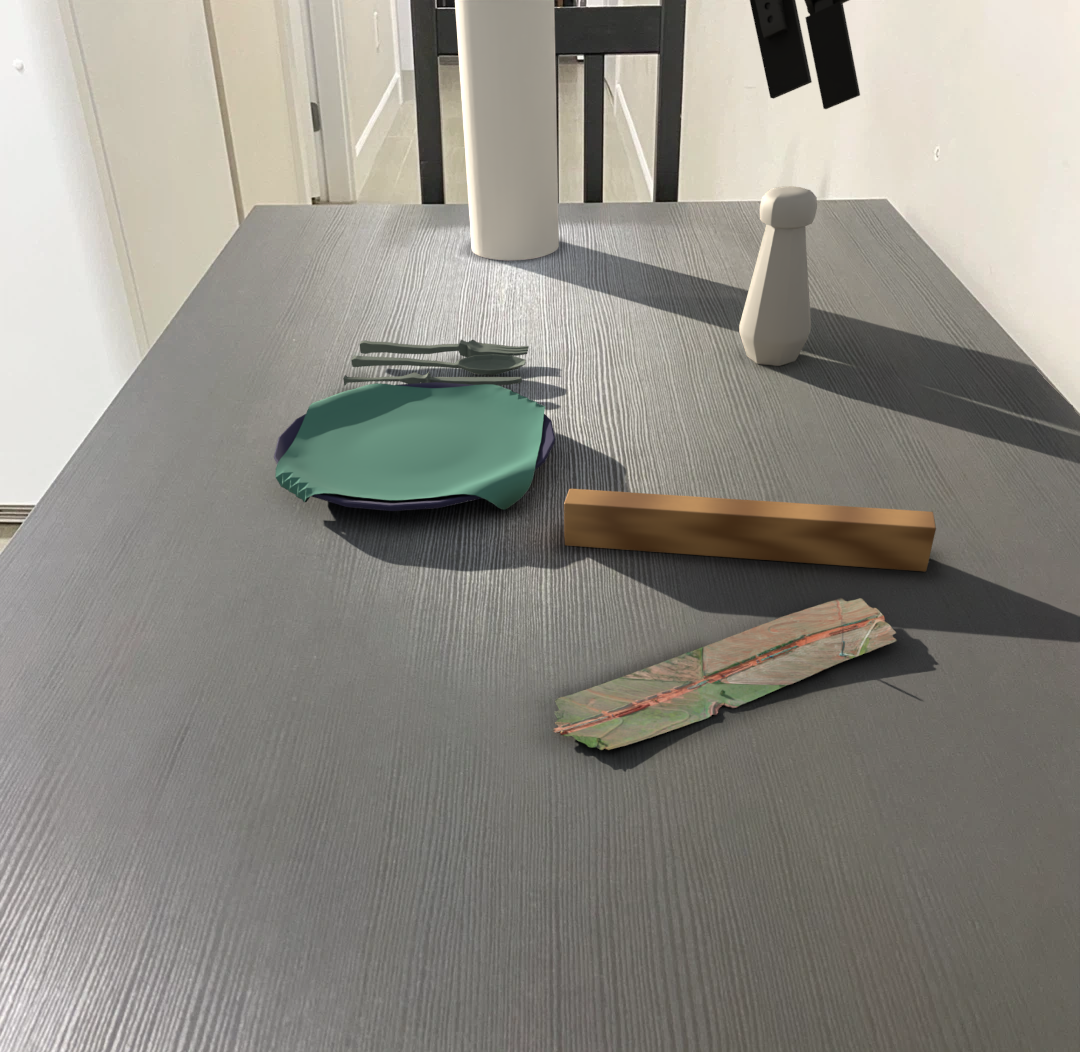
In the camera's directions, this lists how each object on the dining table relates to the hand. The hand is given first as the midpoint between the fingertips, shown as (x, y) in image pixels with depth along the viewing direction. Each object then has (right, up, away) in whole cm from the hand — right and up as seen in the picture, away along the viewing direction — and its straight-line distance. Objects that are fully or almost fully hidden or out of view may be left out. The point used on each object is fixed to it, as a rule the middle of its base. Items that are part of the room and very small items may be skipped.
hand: (818, 97), depth 79 cm
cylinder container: (-23, +6, +38) cm, 45 cm away
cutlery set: (-29, -24, +3) cm, 37 cm away
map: (-10, -43, -21) cm, 49 cm away
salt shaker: (-1, -15, +13) cm, 19 cm away
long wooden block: (-8, -35, -11) cm, 37 cm away
